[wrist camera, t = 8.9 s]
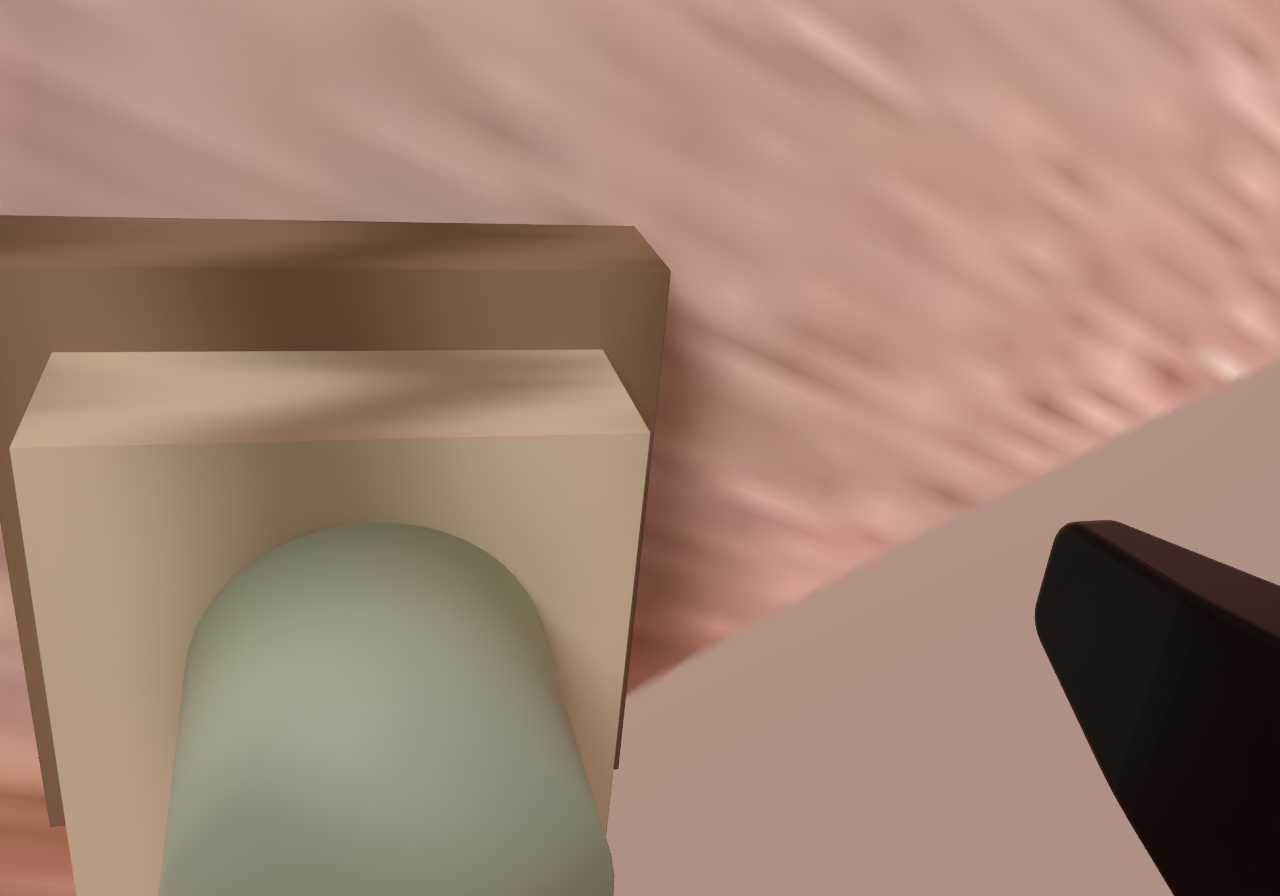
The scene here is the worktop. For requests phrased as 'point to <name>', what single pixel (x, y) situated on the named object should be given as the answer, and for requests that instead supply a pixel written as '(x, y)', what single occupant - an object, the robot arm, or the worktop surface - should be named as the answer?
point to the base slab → (308, 319)
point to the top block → (300, 531)
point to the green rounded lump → (377, 731)
